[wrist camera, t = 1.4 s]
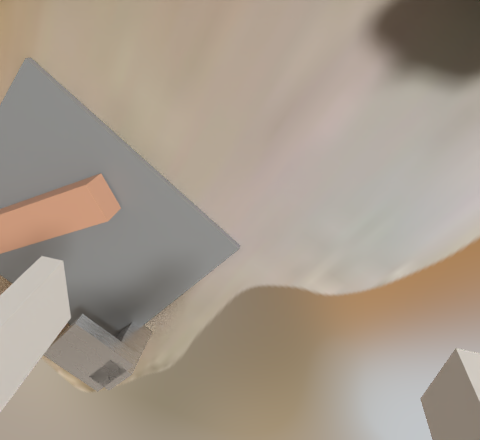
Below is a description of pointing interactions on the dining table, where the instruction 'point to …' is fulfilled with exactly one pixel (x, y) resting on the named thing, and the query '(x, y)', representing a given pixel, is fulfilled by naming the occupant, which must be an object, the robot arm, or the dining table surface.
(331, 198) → the dining table surface
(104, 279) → the base board
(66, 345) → the block
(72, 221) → the link
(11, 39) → the dining table surface
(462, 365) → the robot arm
